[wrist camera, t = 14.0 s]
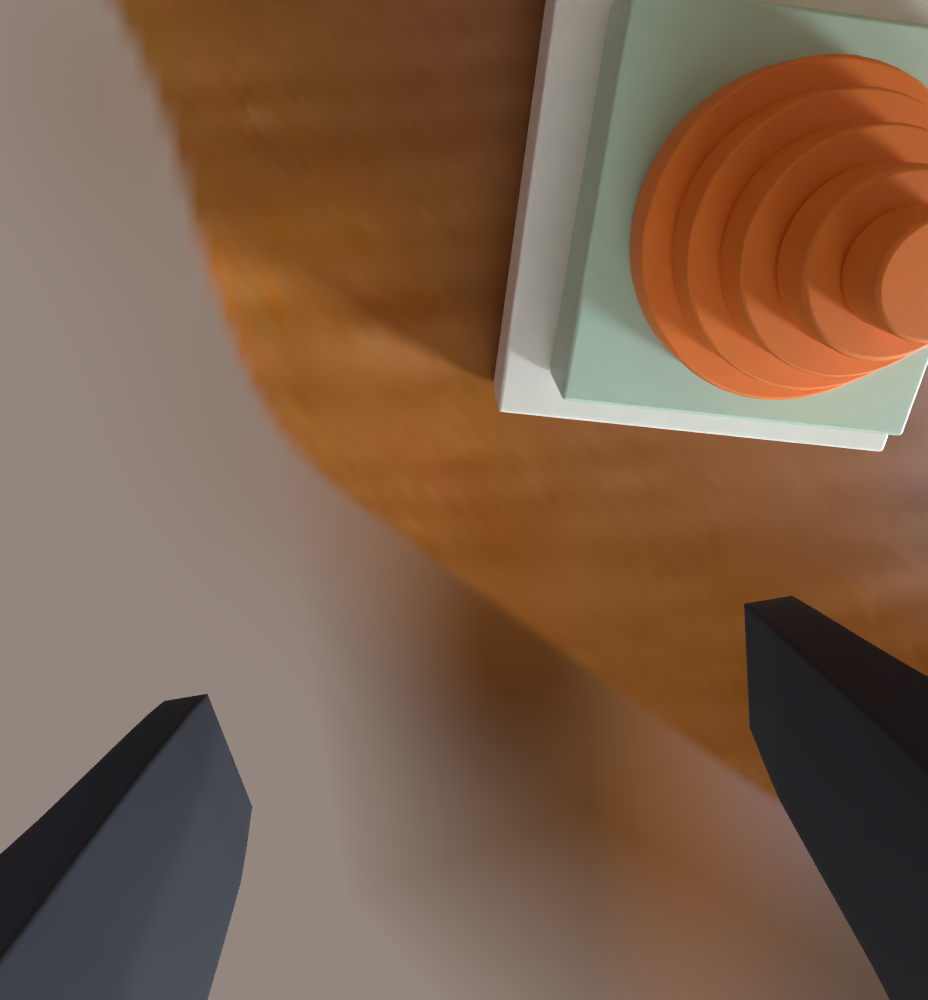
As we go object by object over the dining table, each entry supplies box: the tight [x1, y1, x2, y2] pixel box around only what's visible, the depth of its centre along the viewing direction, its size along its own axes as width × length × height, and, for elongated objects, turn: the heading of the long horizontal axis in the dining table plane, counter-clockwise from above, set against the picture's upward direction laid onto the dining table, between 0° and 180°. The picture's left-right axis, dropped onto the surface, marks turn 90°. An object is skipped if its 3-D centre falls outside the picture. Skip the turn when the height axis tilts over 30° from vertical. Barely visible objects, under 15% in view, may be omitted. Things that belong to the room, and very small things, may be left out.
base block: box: [493, 0, 928, 451], centre depth 17 cm, size 9×9×2 cm
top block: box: [550, 0, 928, 435], centre depth 15 cm, size 7×7×2 cm
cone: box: [630, 54, 928, 400], centre depth 12 cm, size 6×6×5 cm
